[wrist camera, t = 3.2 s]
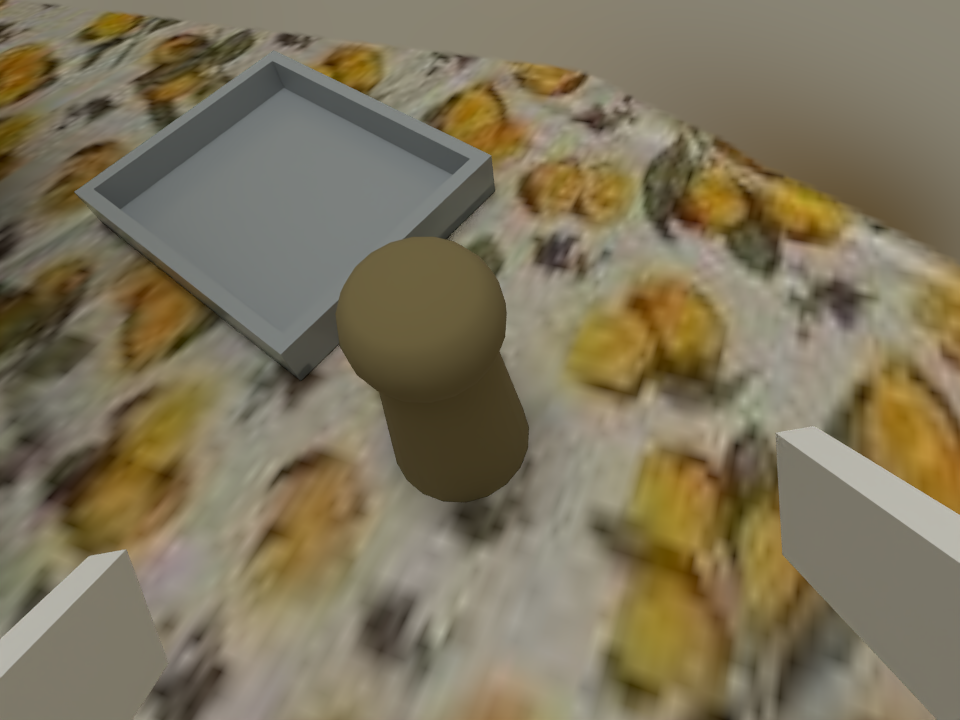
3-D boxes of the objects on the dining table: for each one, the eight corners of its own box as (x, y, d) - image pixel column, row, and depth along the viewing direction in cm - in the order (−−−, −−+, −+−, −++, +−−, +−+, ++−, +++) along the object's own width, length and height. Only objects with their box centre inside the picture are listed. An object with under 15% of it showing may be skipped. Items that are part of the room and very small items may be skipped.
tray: (102, 223, 35) (73, 192, 33) (288, 85, 40) (273, 50, 38) (300, 380, 28) (280, 354, 26) (495, 190, 33) (491, 155, 31)
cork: (441, 355, 28) (386, 181, 19) (553, 410, 26) (556, 246, 17) (366, 460, 26) (262, 322, 17) (483, 529, 24) (441, 416, 15)
